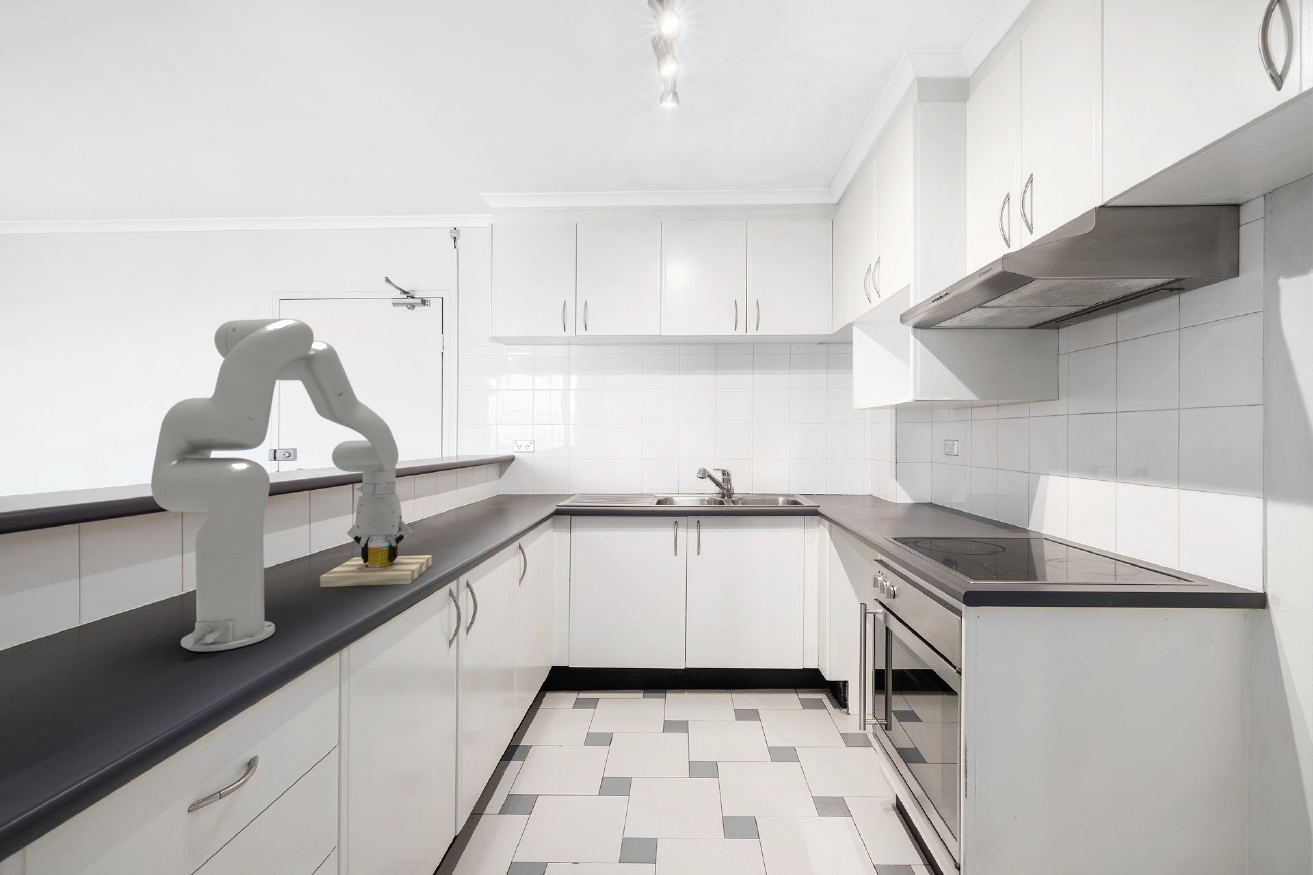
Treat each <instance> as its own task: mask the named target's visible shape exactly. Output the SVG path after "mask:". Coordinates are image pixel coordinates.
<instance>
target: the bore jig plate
mask: <svg viewBox="0 0 1313 875" xmlns="http://www.w3.org/2000/svg"><path fill="white" fill-rule="evenodd" d="M432 565H433V556H432V554H430V555H429V554H426V555H401V556H399V555H398V557H397V558H396V560H395V561H393V562H392V566H389V567H384V568H368V562H367V563H363V559H362V558H361V556H360V557H353V558H350V559H349V560H347V561H346V562H344V563H342V564H340V565H338V566H337V567H335V568H333V569H331V570H329V571H327V572H325V573H323V574H322V575H320V576H319V579H320V580H319V586H320V587H321V588H326V587H327V588H328V587H330V588H331V587H355V586H356V587H357V586H379V585H381V586H382V585H383V586H384V585H406V584H408V585H410V584H411V583H413V582H414V580H416V579H417V578H418V577H419V576H420V575H422V574H423V573H424V572H425V571H426V570H428V568H429V567H431V566H432Z"/></svg>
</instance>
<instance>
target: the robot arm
mask: <svg viewBox="0 0 1313 875" xmlns="http://www.w3.org/2000/svg"><path fill="white" fill-rule="evenodd" d="M214 345H215V348H216V350H217V352H218V353H219V354H220V356H221V357H222V358H223V361H222V363H221V365H220V368H219V371H218V375H217V379H216V382H215V383H216V384H215V388H214V392H213V394H212V396H210V397H192V398H187V399H183V400H180V401H178V402H177V403H174V405H172V407H170V409H169V410H167V412H166V413H165V415H164V418H163V419H162V422H161V426H160V430H159V434H158V441H157V444H156V445H157V446H156V451H155V455H154V456H155V458H154V461H153V468H152V471H151V472H152V473H151V480H150V481H151V482H150V483H151V484H150V487H151V494H152V497H153V499H154V502H156V503H157V505H158V506H159V507H160V508H162V509H165V510H166V511H170V512H175V513H204V514H205V513H206V514H207V515H206V516H205V518H204V521H203V522H202V523H201V525H200V528H199V529H198V532H197V534H196V538H195V544H194V547H195V550H194V551H195V552H194V553H195V585H196V586H195V591H196V592H195V595H196V596H195V597H196V598H195V600H196V601H195V603H196V604H195V605H196V607H195V608H196V622H195V623H194V630H193V632H191V633H189V634H187V635H185V636H183V637H182V639H181V640H180V645H181V647H183V648H184V649H186V650H188V651H192V652H200V653H201V652H206V653H208V652H209V653H210V652H219V651H226V650H232V649H237V648H241V647H245V646H250V645H252V644H255V643H258V642H261V641H263V640H265V639H268V638H269V637H271V636H272V635H274V633H275V632H276V625H275V624H274V623H273V622H271V621H267V620H265V560H264V559H265V557H264V556H265V554H264V550H265V549H264V526H265V525H264V524H265V514H266V507H267V502H268V498H269V493H270V489H271V488H270V485H271V480H270V477H269V476H270V475H269V473H268V471H267V470H266V469H265V467H264V466H263V465H261V464H260V463H258V462H257V461H255V460H252V459H249V458H242V457H211V455H212V452H226V451H227V452H228V451H229V452H231V451H232V452H234V451H235V452H236V451H250V450H254V449H256V448H258V447H260V446H261V445H262V444H264V442H265V440H266V437H267V435H268V434H267V433H268V429H269V423H270V418H271V412H272V411H271V410H272V405H273V404H272V403H273V400H274V399H273V398H274V393H275V387H276V383H277V381H300V382H301V383H302V384H303V386H304V389H305V390H306V392H307V394H308V397H309V398H310V399H309V400H310V401H311V403H312V404H313V407H314V409H315V411H316V413H317V414H318V415H319V416H320V417H321V418H323V419H324V420H328V421H331V422H333V423H335V424H337V425H340V426H342V427H345V428H349V429H351V430H353V431H354V432H356V433H358V434H360V435H361V436H362V437H364V438H365V440H363V439H362V440H346V441H342V442H340V443H338V444H337V445H336V446H335V447H334V449H333V450H332V453H331V454H332V455H331V459H332V462H333V464H334V466H335V467H336V468H337V469H338V470H340V471H343V472H349V473H362V482H361V484H360V485H357V486H356V491H357V492H361V494H362V495H360V496H358V500H357V503H356V512H355V520H354V524H353V525H352V526H351V528H350V529H349V530H347V533H346V534H347V535H348V536H349V537H350V538H351V539H353V540H354V542H355V543H357V545H358V546H359V547H360V548H361V550H360V551H361V552H360V553H361V556H360V557H361V558H362V559H363V563H367V562H368V543H369V542H370V541H371V536H388V540H390V543H391V546H390V547H389V562H393V561H395V560H396V558H397V557H398V556H399V555H398V554H399V552H398V551H399V546H398V545H399V544H400V543H401V542H402V541H403V540H404V539H405V538H406V537H407V536H409V535H410V534H411V533H412V528H410V527H409V526H408V525H407V523H405V522H404V521H403V514H402V506H401V501H400V496H399V494H397V491H396V490H397V488H396V481H397V480H396V475H397V474H396V466H397V464H398V461H399V451H398V444H397V443H396V440H395V438H394V435H393V433H392V431H391V428H390V426H389V425H388V424H387V422H386V421H385V420H384V419H383V418H382V417H381V416H379V415H378V414H377V413H376V412H375V411H374V410H373V409H371V408H370V407H369V406H367V405H365V404H364V403H363V402H361V401H360V400H359V399H358V398H357V395H356V393H355V391H354V390H353V387H352V384H351V383H350V380H349V378H348V375H347V373H346V371H345V369H344V366H343V364H342V361H341V359H340V357H339V355H338V352H337V351H336V349H335V348H334V347H333V346H332V345H331V344H330V343H329V342H325V341H322V340H315V336H314V331H313V329H312V327H311V326H310V325H309V324H307V323H306V322H304V321H302V320H300V319H297V318H296V319H295V318H263V319H237V320H229V321H227V322H224V323H223V324H221V325H220V326H219V327H218V328H217V330H216V331H215V334H214ZM401 531H402V532H401ZM399 532H401V533H400V534H399V535H398V534H397V533H399Z"/></svg>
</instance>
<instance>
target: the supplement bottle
mask: <svg viewBox="0 0 1313 875" xmlns="http://www.w3.org/2000/svg"><path fill="white" fill-rule="evenodd" d="M390 546H391V543H390V540H389V537H388V536H371V537H370V540H369V543H368V568H384V567H389V566H392V562H389V547H390Z"/></svg>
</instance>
